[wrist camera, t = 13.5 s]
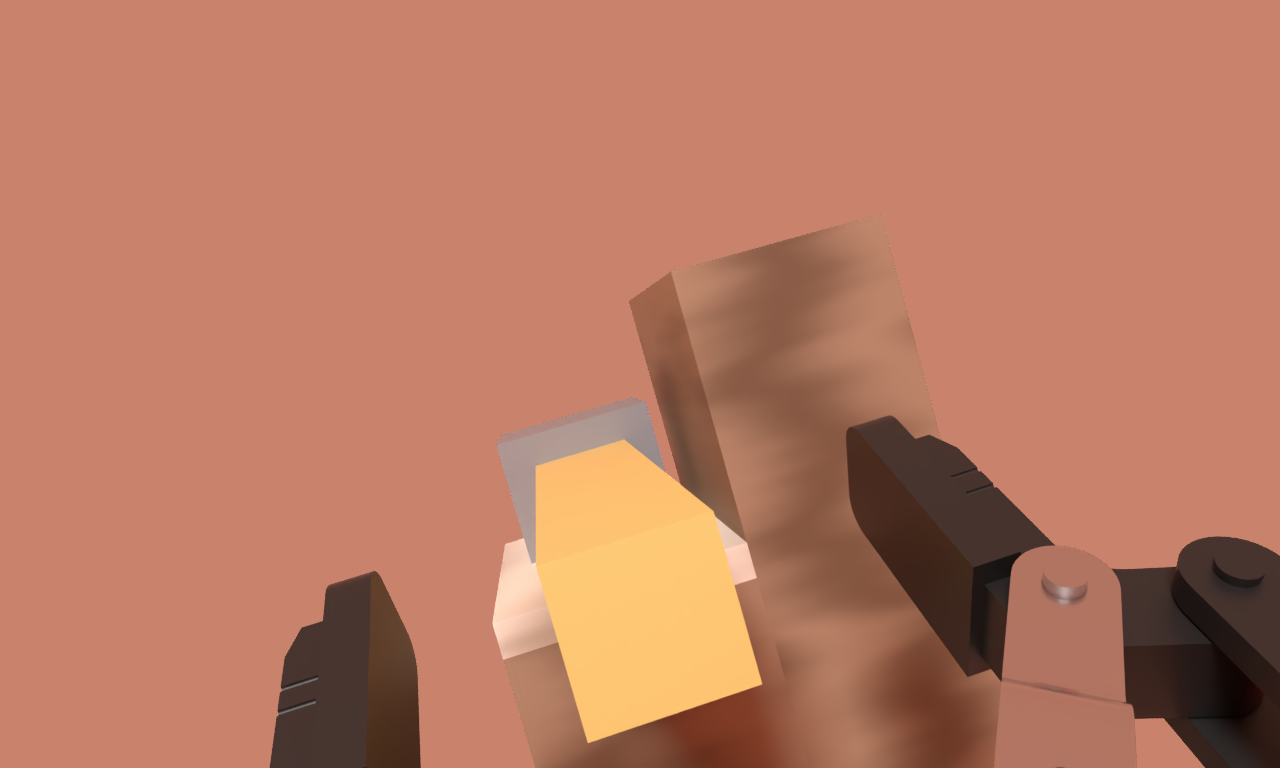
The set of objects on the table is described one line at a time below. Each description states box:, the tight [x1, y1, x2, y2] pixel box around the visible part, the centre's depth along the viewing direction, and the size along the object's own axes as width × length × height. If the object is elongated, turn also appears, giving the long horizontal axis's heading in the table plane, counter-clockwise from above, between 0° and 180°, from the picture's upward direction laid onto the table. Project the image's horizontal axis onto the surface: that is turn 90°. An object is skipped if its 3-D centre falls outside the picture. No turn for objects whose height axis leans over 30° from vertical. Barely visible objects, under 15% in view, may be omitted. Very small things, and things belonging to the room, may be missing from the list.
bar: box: [497, 397, 762, 743], centre depth 23 cm, size 5×18×4 cm, turn 8°
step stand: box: [493, 214, 1001, 768], centre depth 28 cm, size 13×10×32 cm
